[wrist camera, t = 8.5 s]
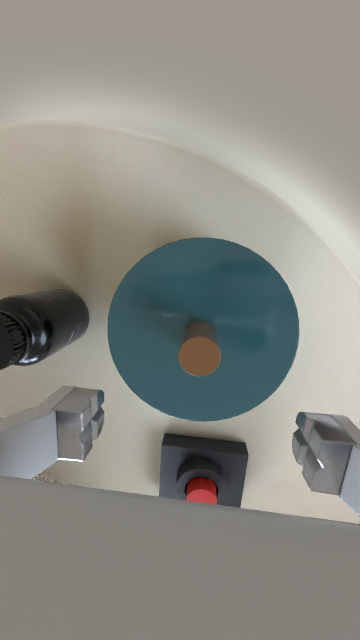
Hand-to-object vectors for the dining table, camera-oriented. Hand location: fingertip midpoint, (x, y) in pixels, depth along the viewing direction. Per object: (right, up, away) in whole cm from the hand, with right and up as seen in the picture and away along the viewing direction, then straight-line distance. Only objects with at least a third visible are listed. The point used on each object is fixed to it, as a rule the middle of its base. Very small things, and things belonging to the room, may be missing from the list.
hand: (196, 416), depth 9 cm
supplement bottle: (-15, +4, +22) cm, 27 cm away
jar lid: (+1, +2, +10) cm, 11 cm away
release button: (+2, -18, +22) cm, 28 cm away
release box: (+2, -17, +25) cm, 31 cm away
